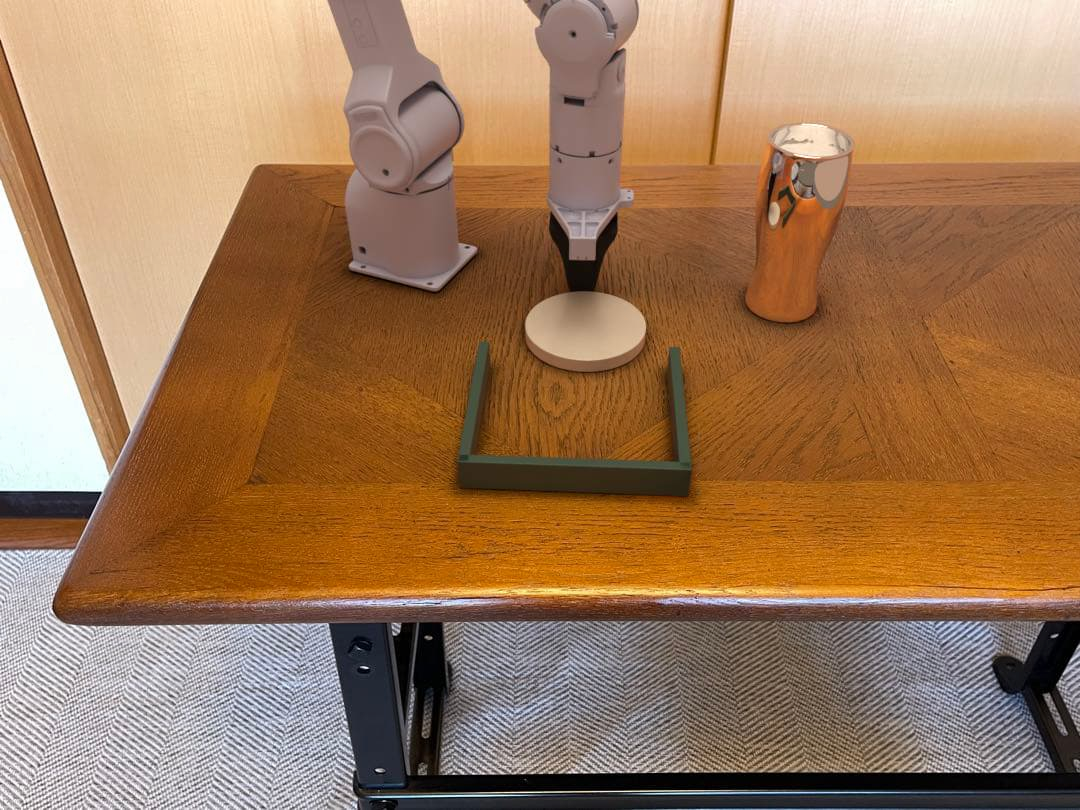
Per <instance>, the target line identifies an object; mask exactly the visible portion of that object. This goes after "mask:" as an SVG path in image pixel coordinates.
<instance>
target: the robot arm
mask: <svg viewBox="0 0 1080 810" xmlns="http://www.w3.org/2000/svg"><path fill="white" fill-rule="evenodd" d="M326 1H327V3H328V6H329V9H330V12H331V15H332V18H333V20H334V23H335V25H336V28H337V31H338V34H339V37H340V40H341V43H342V45H343V47H344V51H345V54H346V57H347V60H348V62H349V65H350V67H351V68H350V69H351V70H352V76H351V80H350V83H349V86H348V89H347V92H346V96H345V100H344V103H343V110H342V111H343V113H344V116H345V119H346V122H347V124H348V130H349V131H348V132H349V139H348V149H349V154H350V158H351V160H352V163H353V165H354V167H355V170H354V171H353V172H352V174H351V175H350V177H349V179H348V182H347V185H346V189H345V195H344V207H345V214H346V221H347V222H346V223H347V229H348V234H349V241H350V247H351V254H352V259H353V260H352V261H351V262H350V263H349V264H348V269H349V270H350V271H352V272H356V273H359V274H364V275H366V276H367V275H368V276H371V277H376V278H380V279H383V280H388V281H392V282H394V283H398V284H399V283H400V284H403V285H408V286H411V287H415V288H419V289H422V290H426V291H430V292H439V291H440V290H441V289H443V288H444V286H445V285H446V284H448V282H449V281H450V280H452V278H453V277H455V275H456V274H457V273H458V272H459V271H460V270H462V268H463V267H464V266H465V265H466V264H467V263H469V261H471V260H472V259H473V258H474V256H475V255H476V254H477V253H478V247H477V246H475V245H470V244H466V243H462V242H460V241H459V229H458V227H459V226H458V216H457V215H458V213H457V200H456V188H455V187H456V185H455V184H456V183H455V172H454V171H455V170H454V163H453V162H454V160H455V159H454V148H455V147H456V146H457V145H459V143H460V141H461V139H462V138H463V135H464V132H465V126H466V125H465V123H466V122H465V116H464V112H463V109H462V106H461V104H460V102H459V101H458V99H457V98H456V96H455V95H454V94H453V93H452V92H451V90H450V89H449V88H448V86H447V84H446V83H445V81H444V79H443V76H442V71H441V70H440V66H439V65H438V64H437V63H436V62H434V61H433V60H431V59H430V58H428V57H427V56H425V55H424V54H422V53H421V52H420V51H418V48H417V45H416V43H415V39H414V36H413V34H412V30H411V28H410V24H409V20H408V18H407V15H406V11H405V9H404V5H403V2H402V0H326ZM522 1H523V3H524V4H526V6H527V8H528V9H529V10H530V12H531V13H532V14H533V15H534V16H535V17H536V19H538V21H539V25H538V26H536V27H535V28H534V37H535V41H536V44H537V47H538V49H539V51H540V53H541V55H542V57H543V58H544V59H545V61H546V62H547V65H548V66H549V84H548V103H549V104H548V111H549V112H548V122H549V123H548V189H547V192H546V205H547V207H548V209H549V210H550V213H549V221H548V232H549V235H550V238H551V240H552V242H553V243H554V244H555V246H556V247H557V249H558V252H559V254H560V257H561V260H562V264H563V269H564V274H565V281H566V284H567V287H568V290H569V292H579V291H590V292H595V289H596V288H597V284H598V281H599V278H600V277H599V276H600V273H601V268H602V265H603V262H604V259H605V256H606V254H607V252H608V250H609V248H610V247H611V245H612V244H613V242H615V240H616V237H617V235H618V232H619V223H618V222H619V221H618V220H619V219H618V218H619V214H618V211H619V210H620V209H624V208H625V209H627V208H632V207H633V206H634V203H635V193H634V190H632V189H631V188H630V189H629V188H622V187H621V179H622V178H621V177H622V176H621V174H622V160H623V159H622V158H623V157H622V156H623V155H622V153H623V143H624V142H623V141H624V139H623V138H624V123H625V122H624V121H625V101H626V67H627V66H626V65H627V49H626V48H624V47H623V46H624V45H625V44H626V43H627V42H628V40H629V39H630V38H631V36H632V35H633V33H634V32H635V30H636V27H637V25H638V23H639V22H638V21H639V17H640V16H639V15H640V6H639V1H638V0H522Z"/></svg>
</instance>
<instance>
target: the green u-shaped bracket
mask: <svg viewBox="0 0 1080 810" xmlns="http://www.w3.org/2000/svg"><path fill="white" fill-rule="evenodd" d="M490 350H491V349H490V341H479V342H478V347H477V352H476V357H475V363H474V369H473V373H472V378H471V384H470V389H469V395H468V400H467V406H466V411H465V416H464V422H463V427H462V432H461V438H460V442H459V443H460V444H459V449H458V454H457V458H456V459H457V460H456V467H457V476H458V477H457V478H458V487H459V489H479V490H506V491H507V490H508V491H509V490H510V491H532V492H533V491H534V492H535V491H538V492H562V493H563V492H565V493H586V494H587V493H591V494H616V495H617V494H618V495H619V494H620V495H642V496H643V495H644V496H646V495H648V496H674V497H689V495H690V489H691V488H690V487H691V481H692V472H693V465H692V457H691V456H692V455H691V447H690V436H689V427H688V416H687V406H686V396H685V386H684V378H683V377H684V376H683V366H682V357H681V348H680V347H679V346H669V348H668V357H667V366H666V378H667V392H668V405H669V417H670V428H671V429H670V430H671V442H672V455H673V461H668V460H667V461H666V460H665V461H664V460H637V459H635V460H634V459H607V458H578V457H577V458H576V457H553V456H551V457H550V456H521V455H494V454H493V455H492V454H491V455H489V454H477V452H478V446H479V439H480V433H481V428H482V421H483V416H484V408H485V402H486V397H487V391H488V384H489V378H490V371H491V351H490Z"/></svg>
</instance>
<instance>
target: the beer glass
mask: <svg viewBox="0 0 1080 810" xmlns="http://www.w3.org/2000/svg"><path fill="white" fill-rule="evenodd" d="M766 139H767V140H766V144H765V148H764V152H763V156H762V160H761V165H760V168H759V169H760V170H759V174H758V179H757V185H756V192H755V201H754V202H755V203H754V204H755V206H754V207H755V208H754V209H755V210H754V223H755V224H754V225H755V249H756V251H755V264H754V268H753V272H752V275H751V279H750V281H749V284H748V286H747V289H746V292H745V296H744V301H745V304H746V307H747V308H748V309H749V310H750V311H751V312H752V313H753V314H755V315H756V316H758V317H760V318H762V319H765V320H767V321H771V322H775V323H785V324H786V323H798V322H801V321H804V320H807V319H808V318H810V317H812V316H813V314H814V313H815V312H816V309H817V305H818V280H819V274H820V269H821V266H822V263H823V261H824V258H825V256H826V254H827V251H828V249H829V246H830V244H831V242H832V240H833V237H834V235H835V232H836V230H837V228H838V226H839V222H840V219H841V217H842V214H843V211H844V207H845V205H846V200H847V195H848V191H849V185H850V180H851V172H852V165H853V157H854V150H855V148H856V147H855V146H856V142H855V140H854V138H853V137H852V136H851V135H850V134H849V133H847V132H846V131H844V130H841V129H839V128H836V127H834V126H830V125H827V124H821V123H814V122H813V123H812V122H792V123H786V124H782V125H778V126H777V127H774V128H772V129H771V130H770V131H769V132H768V134H767V138H766Z"/></svg>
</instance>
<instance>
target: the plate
mask: <svg viewBox="0 0 1080 810" xmlns="http://www.w3.org/2000/svg"><path fill="white" fill-rule="evenodd" d="M646 335H647V323H646V319H645V317H644V315H643V313H642V312H641V311H640V310H639V309H638V308H637V307H636V306H635V305H634V304H632V303H631V302H629V301H627V300H626V299H623V298H621V297H619V296H615V295H612V294H608V293H605V292H600V291H599V292H598V291H594V292H590V291H579V292H570V291H569V292H563V293H559V294H556V295H553V296H550V297H548V298H545V299H543V300H541V301H540V302H539V303H537V304H536V305H535V306H534V307H532V309H531V310H530V311H529V312H528V314H527V315H526V318H525V322H524V338H525V342H526V345H527V347H528V348H529V350H530V351H531V353H532V354H533V355H534V356H535V357H537V358H538V359H539V360H540V361H542V362H544V363H546V364H548V365H550V366H552V367H555V368H559V369H562V370H566V371H570V372H571V371H572V372H578V373H579V372H580V373H596V372H605V371H608V370H613V369H617V368H618V367H621V366H624V365H626V364H627V363H629V362H631V361H632V360H633V359H635V358H636V357H637V356H638V355H639V354H640V353H641V352H642V350H643V348H644V346H645V343H646Z"/></svg>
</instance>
